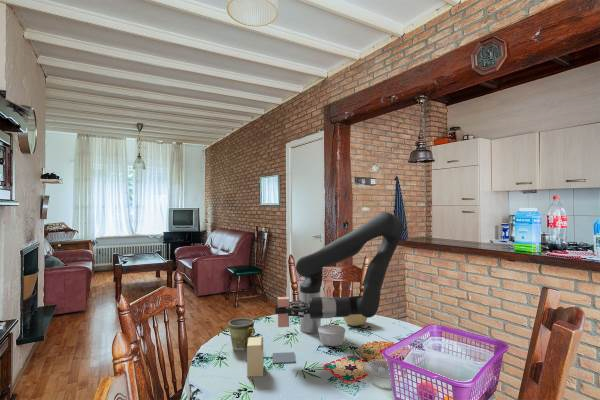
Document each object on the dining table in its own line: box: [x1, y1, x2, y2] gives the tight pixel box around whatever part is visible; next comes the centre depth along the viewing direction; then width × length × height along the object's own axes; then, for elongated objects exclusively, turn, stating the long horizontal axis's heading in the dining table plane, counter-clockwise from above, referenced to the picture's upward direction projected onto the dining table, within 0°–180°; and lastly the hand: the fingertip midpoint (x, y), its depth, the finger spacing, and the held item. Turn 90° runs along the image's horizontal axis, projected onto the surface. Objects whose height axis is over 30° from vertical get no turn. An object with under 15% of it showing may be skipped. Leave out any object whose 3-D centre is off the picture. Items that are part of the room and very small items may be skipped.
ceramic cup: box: [228, 317, 256, 351], centre depth 131 cm, size 13×10×10 cm
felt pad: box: [272, 351, 296, 365], centre depth 121 cm, size 8×8×1 cm
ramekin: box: [317, 324, 346, 347], centre depth 137 cm, size 11×11×5 cm
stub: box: [277, 296, 290, 328], centre depth 122 cm, size 4×3×10 cm
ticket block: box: [246, 336, 267, 378], centre depth 111 cm, size 6×7×10 cm
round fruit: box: [342, 314, 368, 327], centre depth 159 cm, size 12×12×11 cm
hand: (275, 309), depth 122 cm, fingers closed on stub, 3 cm apart
